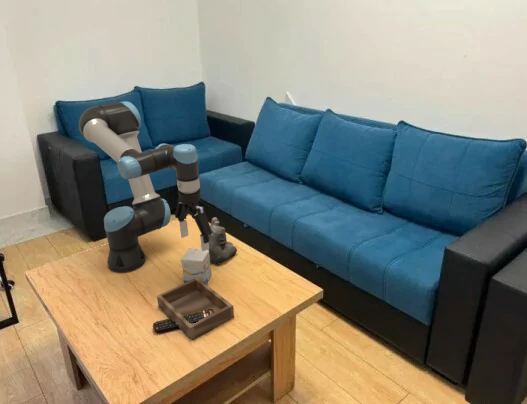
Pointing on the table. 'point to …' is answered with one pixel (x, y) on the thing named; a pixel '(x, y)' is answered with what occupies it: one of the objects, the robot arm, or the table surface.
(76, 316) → the table surface
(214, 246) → the figurine
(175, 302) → the tray
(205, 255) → the ink box
